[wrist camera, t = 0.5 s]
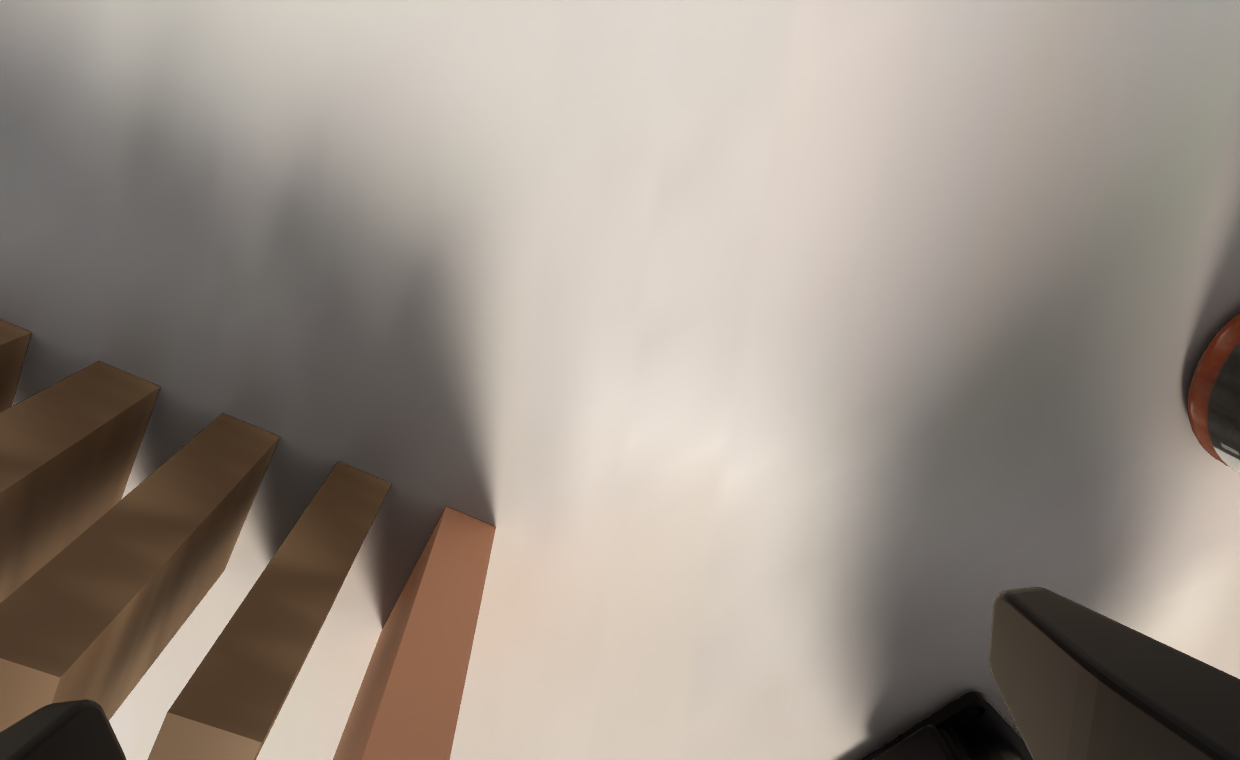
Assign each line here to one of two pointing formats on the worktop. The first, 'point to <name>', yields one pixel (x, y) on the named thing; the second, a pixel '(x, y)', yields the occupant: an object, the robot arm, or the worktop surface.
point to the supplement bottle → (1218, 396)
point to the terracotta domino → (423, 651)
